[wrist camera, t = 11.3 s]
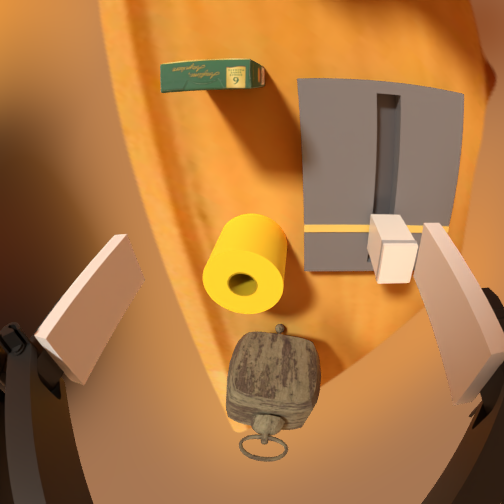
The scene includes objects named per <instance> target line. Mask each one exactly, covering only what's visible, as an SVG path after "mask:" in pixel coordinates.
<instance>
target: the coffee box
mask: <svg viewBox="0 0 504 504" xmlns="http://www.w3.org/2000/svg"><path fill="white" fill-rule="evenodd" d="M160 70H161V92H162V93H168V92H180V91H196V90H221V89H251V88H259V87H264V86H265V76H264V67H263V66H261V65H260V64H258V63H256V62H254V61H253V60H251V59H205V60H191V61H180V62H172V63H164V64H161V65H160Z"/></svg>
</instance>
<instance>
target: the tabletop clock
mask: <svg viewBox="0 0 504 504" xmlns="http://www.w3.org/2000/svg"><path fill="white" fill-rule="evenodd" d="M275 329H276V331H277V332H278V334H274V333H266V332H250V333H247V334H245V335H244V336H243V337H242V338H241V339H240V340H239V341H238V343H237V345H236V347H235V349H234V352H233V355H232V358H231V361H230V364H229V371H228V378H227V396H226V410H227V414H228V417H229V418H231V419H233V420H234V421H237V422H239V423H242V424H246V425H251V426H252V428H253V430H254V431H255V432H257V433H258V434H261V435H250V436H246V437H244V438H243V439H242V440H241V441H240V443H239V448H240V451H241V452H242V453H243V454H244V455H246V456H247V457H249V458H251V459H254V460H258V461H276V460H280V459H281V458H283V457H284V456H285V455H286V454H287V452H288V447H287V445H286V444H285V443H284V442H283V441H282V440H280V439H278V438H276V437H272V436H271V435H275V434H277V433H278V432H279V431H280V430H290V429H297V428H301V427H302V426H303V424H304V423H305V421H306V420H307V418H308V416H309V415H310V413H311V411H312V410H313V408H314V406H315V404H316V403H317V400H318V396H319V391H320V381H321V371H320V360H319V356H318V352H317V350H316V348H315V346H314V344H313V342H311V341H309V340H307V339H304V338H299V337H293V336H288V335H282V334H281V333H282V332H283V331H284V329H285V328H284V326H283V325H282V324H278V325H277V326H276V328H275ZM248 439H261V443H262V444H267V443H268V440H271V441H275V442H277V443H280V444H281V445H283V446H284V448H285V451H284V452H283V454H281V455H279V456H276V457H260V456H255V455H252V454H250V453H248V452H247V451H246V450H245V449H244V448H243V446H242V443H243V441H245V440H248Z"/></svg>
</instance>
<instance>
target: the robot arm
mask: <svg viewBox="0 0 504 504" xmlns="http://www.w3.org/2000/svg"><path fill="white" fill-rule="evenodd" d="M413 276H414V279H415V281H416V284H417V287H418V289H419V292H420V294H421V297H422V300H423V302H424V305H425V308H426V311H427V314H428V316H429V319H430V322H431V325H432V328H433V331H434V334H435V337H436V341H437V344H438V347H439V351H440V354H441V357H442V361H443V364H444V368H445V372H446V376H447V380H448V383H449V387H450V391H451V396H452V401H453V405H454V406H455V405H459V404H463V403H468V402H472V401H473V400H474V399H475V398H476V396H477V395H478V394H479V393H481V397H482V401H481V402H480V404H479V405H478V406H477V407H476V408H475V409H474V410H473V411H472V412H471V414H470V415H469V417H472V416H473V415H474V414H475V415H474V417H473V419H472V421H471V423H470V425H469V427H468V429H467V431H466V433H465V435H464V437H463V439H462V441H461V443H460V444H459V446H458V448H457V450H456V452H455V453H454V455H453V457H452V459H451V460H450V462H449V463H448V465H447V467H446V468H445V470H444V472H443V473H442V475H441V476H440V478H439V479H438V481H437V482H436V484H435V485H434V487H433V488H432V490H431V491H430V492H429V494H428V495H427V497H426V498H425V499H424V501H423V502H422V504H500V503H501V504H504V307H503V305H502V303H501V301H500V299H499V298H498V296H497V295H496V294H495V293H494V292H492V290H490V289H489V288H481V287H480V286H479V284H478V282H477V280H476V279H475V277H474V275H473V273H472V272H471V270H470V268H469V267H468V265H467V264H466V262H465V260H464V259H463V257H462V255H461V254H460V252H459V251H458V249H457V248H456V246H455V245H454V243H453V242H452V240H451V239H450V237H449V236H448V234H447V233H446V231H445V230H444V228H443V227H442V226H441V224H440V223H424V225H423V231H422V236H421V242H420V247H419V252H418V257H417V262H416V266H415V271H414V275H413ZM144 281H145V279H144V276H143V274H142V271H141V269H140V267H139V264H138V262H137V259H136V256H135V254H134V252H133V249H132V246H131V244H130V241H129V238H128V235H127V234H122V235H114V237H113V238H112V239H111V240H110V241H109V242H108V243H107V244H106V245H105V246H104V248H103V249H102V250H101V251H100V252H99V253H98V254H97V256H96V257H95V258H94V259H93V260H92V261H91V263H90V264H89V265H88V266H87V267H86V268H85V269H84V271H83V272H82V273H81V274H80V275H79V277H78V278H77V279H76V280H75V282H74V283H73V284H72V285H71V287H70V288H69V289H68V290H67V291H66V293H65V294H64V295H63V296H62V297H61V298H60V299H59V300H58V301H57V302H56V304H55V305H54V307H53V309H51V310H50V312H49V313H48V315H47V316H46V317H45V318H44V320H43V321H42V323H41V324H40V325H39V327H38V328H37V329H36V331H35V332H34V334H33V335H32V337H31V338H30V339H29V338H28V337H27V336H26V334H25V333H24V331H23V330H22V329H21V327H20V326H19V325H18V324H17V323H15V322H13V323H10V324H8V325H7V326H5V327H4V328H3V329H2V330H1V331H0V382H1V383H2V384H3V385H4V386H5V393H4V392H3V391H2V390H1V389H0V504H93V501H92V498H91V496H90V492H89V490H88V486H87V483H86V480H85V477H84V473H83V470H82V466H81V463H80V459H79V455H78V451H77V447H76V443H75V438H74V434H73V429H72V424H71V419H70V413H69V407H68V401H67V394H66V387H65V382H64V380H63V379H62V378H61V376H62V374H63V373H65V374H66V375H67V376H68V377H69V379H70V380H71V381H73V382H77V383H79V384H82V385H85V383H86V381H87V379H88V377H89V375H90V373H91V371H92V369H93V368H94V366H95V364H96V362H97V360H98V358H99V357H100V355H101V353H102V351H103V349H104V348H105V346H106V344H107V342H108V340H109V339H110V337H111V335H112V334H113V332H114V330H115V328H116V327H117V325H118V323H119V321H120V320H121V318H122V317H123V315H124V313H125V311H126V310H127V308H128V306H129V305H130V303H131V302H132V300H133V298H134V296H135V295H136V293H137V292H138V290H139V289H140V287H141V285H142V284H143V282H144ZM501 501H502V502H501Z"/></svg>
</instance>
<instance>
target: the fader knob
mask: <svg viewBox="0 0 504 504" xmlns="http://www.w3.org/2000/svg"><path fill="white" fill-rule="evenodd" d="M367 249H368V253H369V256H370V259H371V262H372V266H373V269H374V272H375V276H376V281H377V283H378V284H383V283H410V279H411V275H412V271H413V267H414V263H415V258H416V254H417V249H418V245H417V242H416V240H415V239H414V238H413V236H412V234H411V232H410V231H409V229H408V227H407V226H406V224H405V222H404V221H403V219H402V217H401V216H400V215H389V214H371V216H370V226H369V236H368V244H367Z"/></svg>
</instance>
